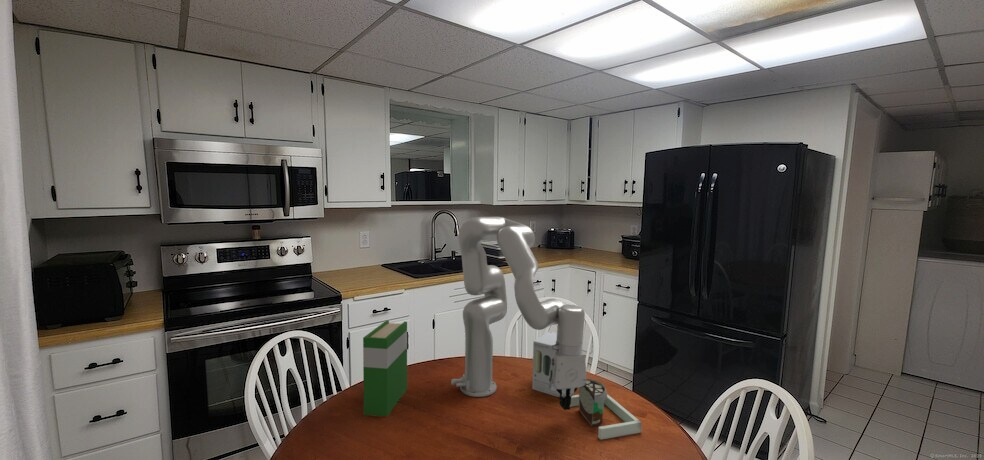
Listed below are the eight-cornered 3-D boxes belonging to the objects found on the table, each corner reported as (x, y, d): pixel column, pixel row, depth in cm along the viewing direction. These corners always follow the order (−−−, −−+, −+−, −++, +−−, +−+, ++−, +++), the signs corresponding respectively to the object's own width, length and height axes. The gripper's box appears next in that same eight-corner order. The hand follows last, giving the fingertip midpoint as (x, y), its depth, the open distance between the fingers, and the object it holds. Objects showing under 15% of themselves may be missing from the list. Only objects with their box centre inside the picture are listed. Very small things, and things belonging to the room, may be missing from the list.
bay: (600, 439, 110) (600, 429, 109) (567, 405, 128) (567, 396, 128) (641, 432, 113) (641, 422, 113) (603, 400, 132) (603, 391, 132)
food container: (613, 427, 116) (615, 394, 115) (594, 429, 115) (595, 395, 114) (595, 406, 128) (596, 376, 127) (577, 407, 127) (578, 377, 126)
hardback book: (386, 388, 138) (386, 320, 136) (407, 389, 137) (407, 321, 135) (363, 415, 121) (363, 337, 119) (387, 417, 120) (386, 339, 118)
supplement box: (531, 389, 139) (532, 340, 138) (547, 376, 150) (548, 330, 149) (566, 400, 131) (568, 348, 130) (581, 385, 142) (582, 337, 141)
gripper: (551, 354, 110) (546, 417, 112) (598, 351, 115) (593, 411, 117) (540, 344, 118) (536, 403, 119) (585, 341, 122) (580, 398, 124)
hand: (564, 407), depth 118 cm, fingers closed
